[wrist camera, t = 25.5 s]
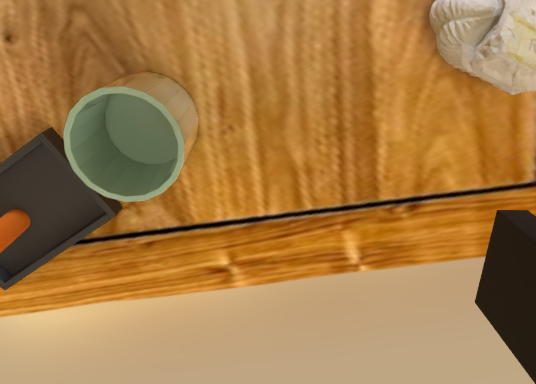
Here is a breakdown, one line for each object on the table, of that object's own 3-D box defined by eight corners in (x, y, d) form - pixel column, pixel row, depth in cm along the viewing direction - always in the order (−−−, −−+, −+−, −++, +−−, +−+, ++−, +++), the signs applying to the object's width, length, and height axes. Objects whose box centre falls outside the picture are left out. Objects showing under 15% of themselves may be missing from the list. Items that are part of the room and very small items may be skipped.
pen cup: (81, 120, 40) (38, 146, 33) (144, 49, 38) (114, 58, 30) (155, 184, 43) (132, 223, 35) (218, 121, 41) (209, 147, 33)
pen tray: (14, 279, 47) (4, 290, 45) (-60, 210, 44) (-74, 219, 42) (122, 207, 44) (116, 215, 42) (51, 127, 41) (41, 132, 39)
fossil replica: (421, -32, 36) (417, 86, 41) (453, -31, 29) (444, 113, 33) (574, -53, 35) (553, 72, 39) (649, -58, 28) (612, 96, 32)
